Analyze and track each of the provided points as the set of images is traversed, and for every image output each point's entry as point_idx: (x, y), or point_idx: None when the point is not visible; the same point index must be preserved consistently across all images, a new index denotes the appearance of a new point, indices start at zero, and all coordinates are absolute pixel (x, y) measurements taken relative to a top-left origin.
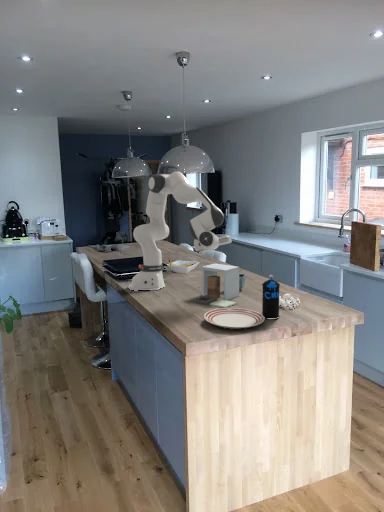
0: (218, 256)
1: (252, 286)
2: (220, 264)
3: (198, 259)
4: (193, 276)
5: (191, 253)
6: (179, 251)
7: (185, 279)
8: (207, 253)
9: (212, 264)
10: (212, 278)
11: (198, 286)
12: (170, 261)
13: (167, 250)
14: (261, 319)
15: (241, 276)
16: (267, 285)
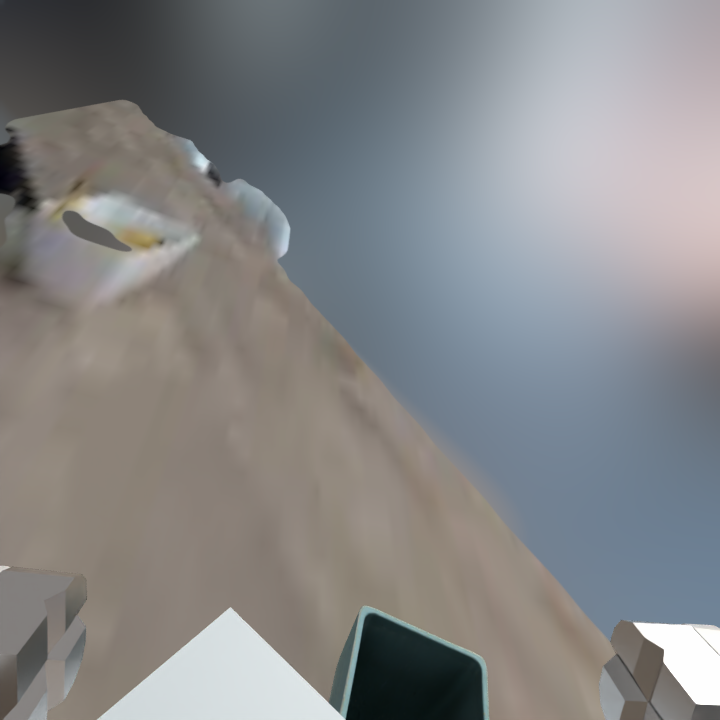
0: (278, 229)
1: None
2: (301, 708)
3: (202, 220)
4: (100, 364)
5: (192, 180)
6: (157, 157)
7: (15, 396)
8: (245, 201)
9: (174, 689)
10: None
11: None
12: (78, 190)
13: (119, 137)
14: None
15: (441, 661)
16: None
